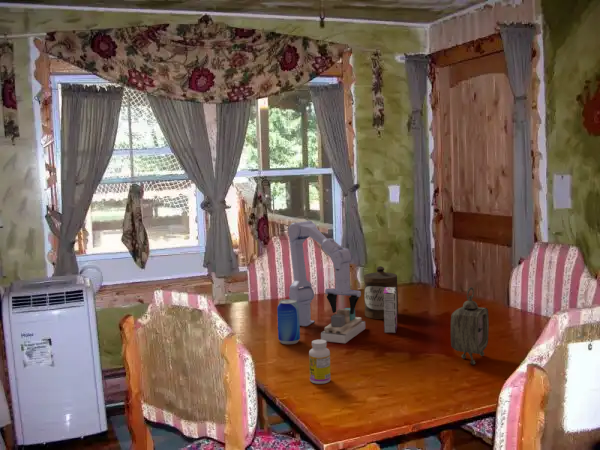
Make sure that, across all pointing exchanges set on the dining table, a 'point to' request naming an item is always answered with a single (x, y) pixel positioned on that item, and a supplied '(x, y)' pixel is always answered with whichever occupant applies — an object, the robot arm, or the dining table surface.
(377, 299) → the wooden container
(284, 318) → the beer can
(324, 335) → the dock
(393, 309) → the candy bar box
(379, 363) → the dining table surface
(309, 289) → the robot arm
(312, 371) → the supplement bottle
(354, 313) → the block
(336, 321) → the grey cube
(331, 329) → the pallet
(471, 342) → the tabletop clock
